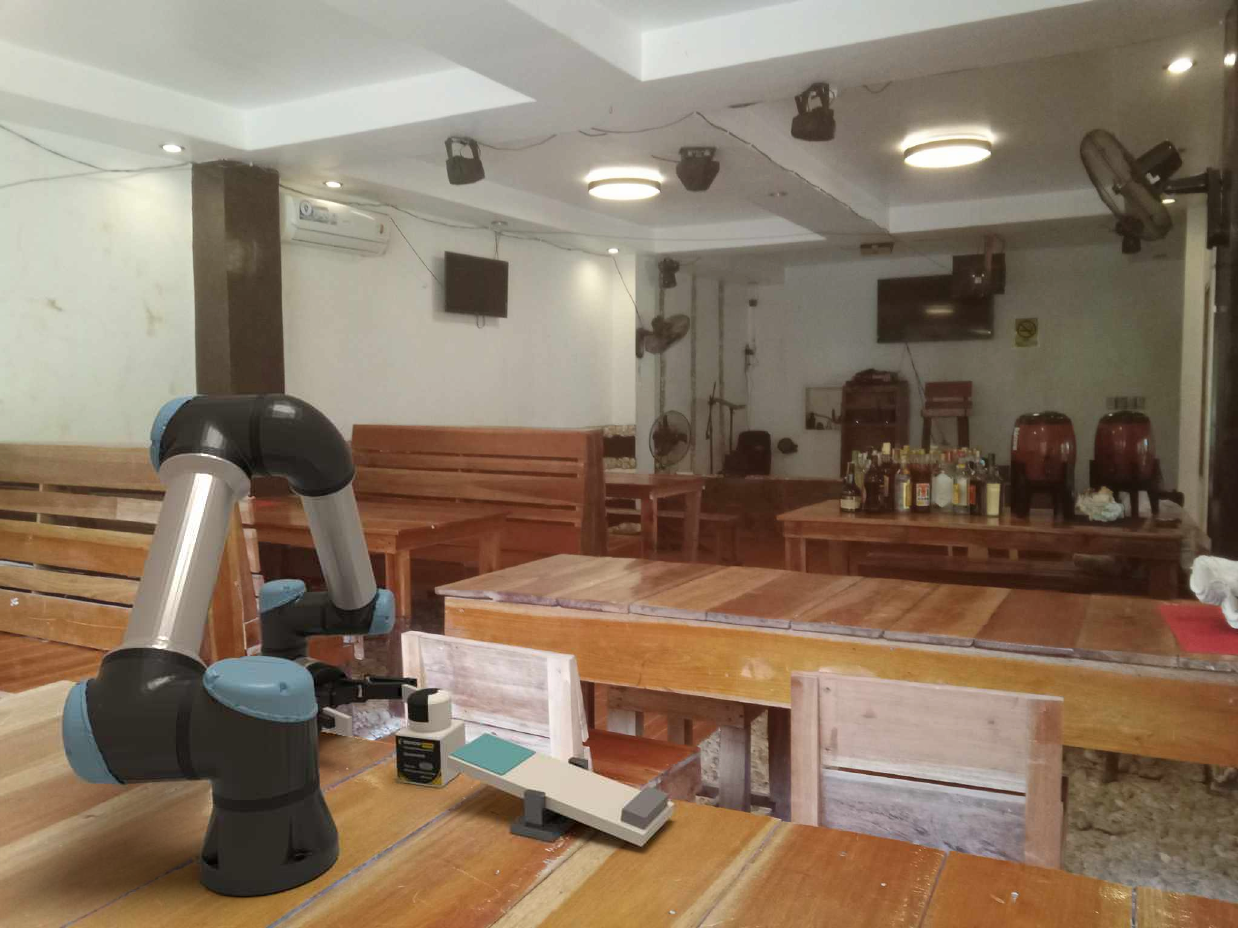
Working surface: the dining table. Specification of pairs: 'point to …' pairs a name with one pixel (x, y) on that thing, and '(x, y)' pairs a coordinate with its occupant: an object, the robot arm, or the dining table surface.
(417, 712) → the medicine bottle
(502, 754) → the beam
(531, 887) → the dining table surface
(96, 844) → the dining table surface
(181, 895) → the dining table surface
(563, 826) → the fulcrum
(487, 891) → the dining table surface
